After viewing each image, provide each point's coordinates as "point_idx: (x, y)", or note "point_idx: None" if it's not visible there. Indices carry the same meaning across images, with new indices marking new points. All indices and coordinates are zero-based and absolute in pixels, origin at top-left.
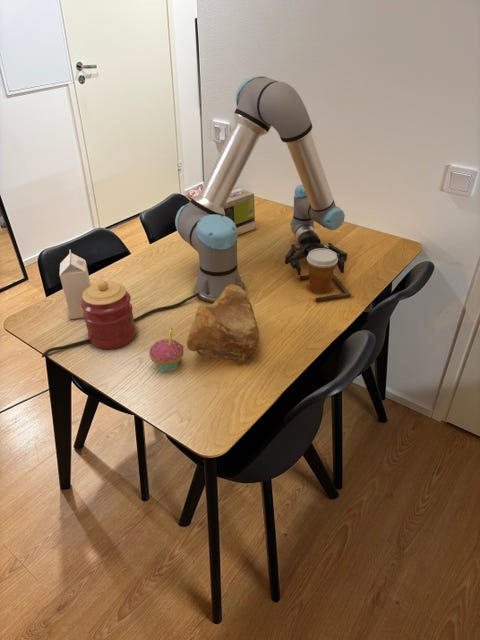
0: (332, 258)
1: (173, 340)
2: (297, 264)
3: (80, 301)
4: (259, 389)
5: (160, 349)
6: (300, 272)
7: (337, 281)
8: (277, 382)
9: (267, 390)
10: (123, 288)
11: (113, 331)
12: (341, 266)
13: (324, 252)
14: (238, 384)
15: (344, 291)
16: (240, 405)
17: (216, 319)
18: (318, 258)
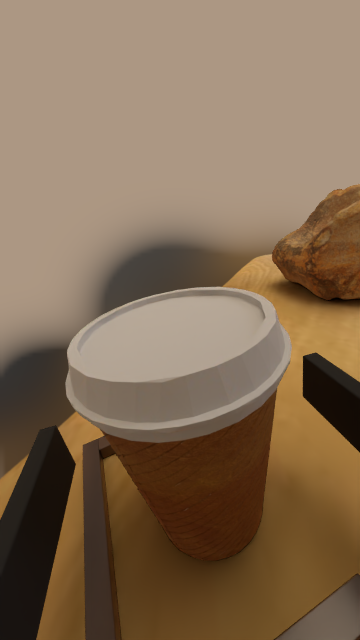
0: (115, 324)
1: None
2: (348, 375)
3: None
4: (251, 275)
5: None
6: (303, 380)
7: (99, 562)
8: (236, 281)
9: (243, 276)
10: None
11: None
12: (57, 443)
13: (151, 354)
14: (275, 272)
15: (99, 459)
16: (260, 267)
17: (323, 201)
18: (197, 306)
